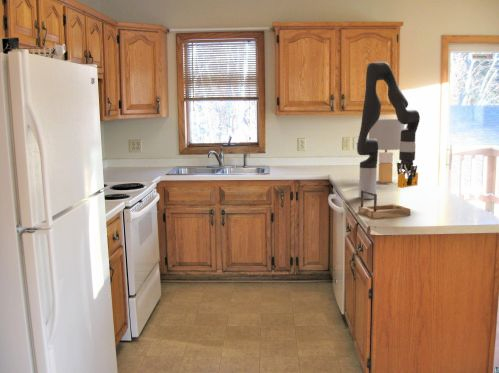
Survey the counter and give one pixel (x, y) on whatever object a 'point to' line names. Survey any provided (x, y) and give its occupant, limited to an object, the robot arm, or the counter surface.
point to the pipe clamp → (403, 182)
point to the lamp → (386, 145)
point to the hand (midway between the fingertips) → (405, 184)
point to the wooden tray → (382, 208)
